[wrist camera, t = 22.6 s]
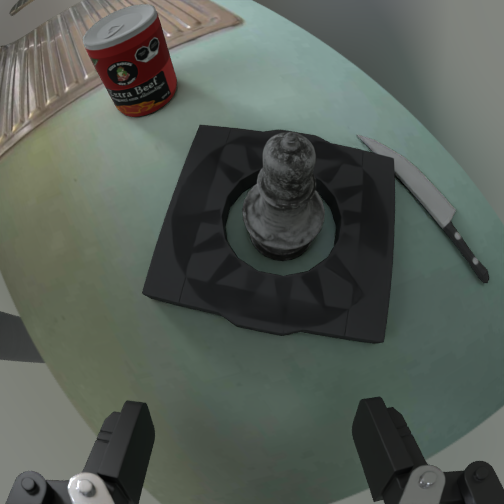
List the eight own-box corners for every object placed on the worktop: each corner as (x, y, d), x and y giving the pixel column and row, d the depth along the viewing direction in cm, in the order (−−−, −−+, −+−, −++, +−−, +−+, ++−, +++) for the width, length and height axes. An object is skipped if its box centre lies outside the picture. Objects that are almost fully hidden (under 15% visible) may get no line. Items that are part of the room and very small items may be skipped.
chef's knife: (373, 126, 29) (355, 136, 28) (377, 119, 28) (358, 128, 27) (494, 269, 23) (481, 287, 22) (501, 265, 22) (489, 284, 21)
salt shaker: (244, 264, 24) (225, 185, 13) (246, 197, 26) (232, 93, 15) (319, 264, 24) (361, 186, 13) (315, 197, 26) (342, 95, 15)
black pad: (149, 305, 24) (139, 300, 22) (205, 133, 29) (201, 120, 27) (373, 350, 22) (382, 350, 20) (387, 164, 27) (394, 153, 25)
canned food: (111, 124, 30) (71, 54, 20) (124, 81, 33) (95, 16, 23) (175, 112, 30) (147, 30, 20) (181, 69, 33) (161, -3, 22)
